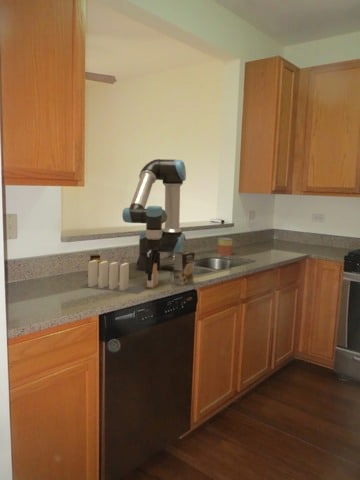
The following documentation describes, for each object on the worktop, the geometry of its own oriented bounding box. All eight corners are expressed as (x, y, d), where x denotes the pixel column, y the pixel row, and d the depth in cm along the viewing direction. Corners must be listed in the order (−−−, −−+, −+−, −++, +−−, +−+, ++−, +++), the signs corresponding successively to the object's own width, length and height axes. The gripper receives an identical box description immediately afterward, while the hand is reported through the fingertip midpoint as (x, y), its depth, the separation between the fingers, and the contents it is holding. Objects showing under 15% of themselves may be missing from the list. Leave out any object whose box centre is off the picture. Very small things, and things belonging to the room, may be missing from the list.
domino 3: (108, 289, 186) (109, 264, 185) (114, 286, 192) (114, 261, 190) (112, 289, 186) (112, 264, 184) (117, 286, 191) (118, 262, 190)
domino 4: (119, 290, 185) (119, 265, 183) (124, 287, 190) (125, 262, 189) (122, 290, 184) (123, 265, 183) (128, 287, 190) (128, 263, 188)
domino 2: (98, 287, 188) (98, 263, 186) (104, 285, 194) (104, 260, 192) (101, 288, 187) (101, 263, 186) (107, 285, 193) (108, 261, 191)
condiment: (101, 278, 209) (101, 256, 208) (85, 278, 208) (85, 256, 206) (101, 275, 217) (101, 253, 215) (85, 275, 215) (85, 253, 213)
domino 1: (88, 286, 189) (88, 261, 188) (94, 283, 195) (94, 259, 194) (91, 287, 189) (91, 262, 187) (97, 284, 195) (97, 260, 193)
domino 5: (148, 289, 191) (149, 264, 190) (152, 286, 197) (153, 262, 195) (151, 289, 191) (152, 265, 189) (156, 286, 196) (157, 262, 195)
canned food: (233, 254, 303) (234, 238, 302) (230, 256, 293) (231, 240, 291) (218, 252, 307) (219, 237, 305) (215, 255, 296) (216, 239, 295)
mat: (91, 283, 199) (91, 281, 199) (147, 289, 190) (147, 288, 190) (80, 288, 189) (80, 286, 188) (138, 295, 180) (138, 294, 180)
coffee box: (182, 285, 200) (183, 254, 198) (173, 283, 204) (174, 252, 202) (193, 282, 207) (194, 252, 205) (184, 280, 211) (185, 250, 209)
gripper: (153, 241, 180) (152, 290, 183) (167, 236, 198) (166, 281, 201) (138, 239, 183) (137, 288, 186) (153, 235, 201) (152, 280, 204)
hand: (152, 285), depth 194 cm, fingers closed on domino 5, 6 cm apart
